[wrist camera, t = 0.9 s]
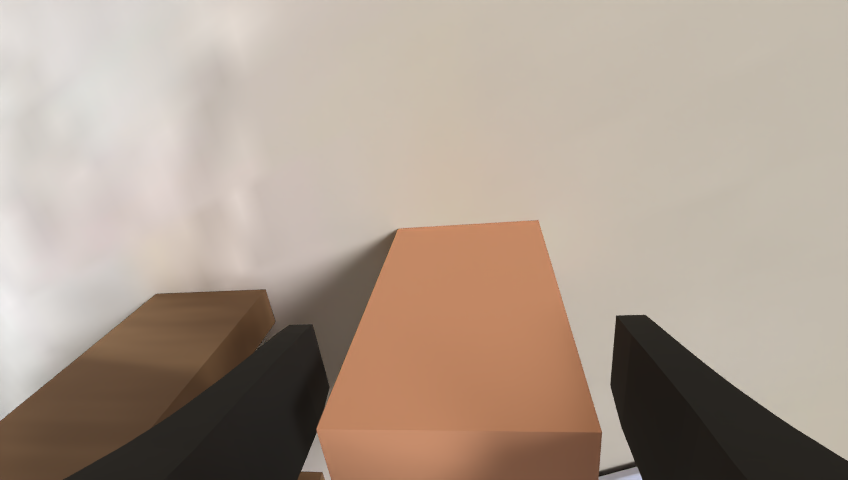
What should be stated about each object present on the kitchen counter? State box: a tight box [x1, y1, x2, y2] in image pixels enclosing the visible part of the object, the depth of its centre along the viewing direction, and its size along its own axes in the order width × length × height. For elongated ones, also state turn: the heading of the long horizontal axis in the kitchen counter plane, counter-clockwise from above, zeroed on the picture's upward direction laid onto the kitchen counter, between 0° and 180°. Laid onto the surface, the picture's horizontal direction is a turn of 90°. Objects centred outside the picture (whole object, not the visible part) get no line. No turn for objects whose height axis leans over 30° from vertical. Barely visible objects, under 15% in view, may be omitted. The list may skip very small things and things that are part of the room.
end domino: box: [316, 220, 602, 480], centre depth 12 cm, size 2×5×9 cm, turn 97°
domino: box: [0, 290, 275, 480], centre depth 15 cm, size 2×5×9 cm, turn 97°
